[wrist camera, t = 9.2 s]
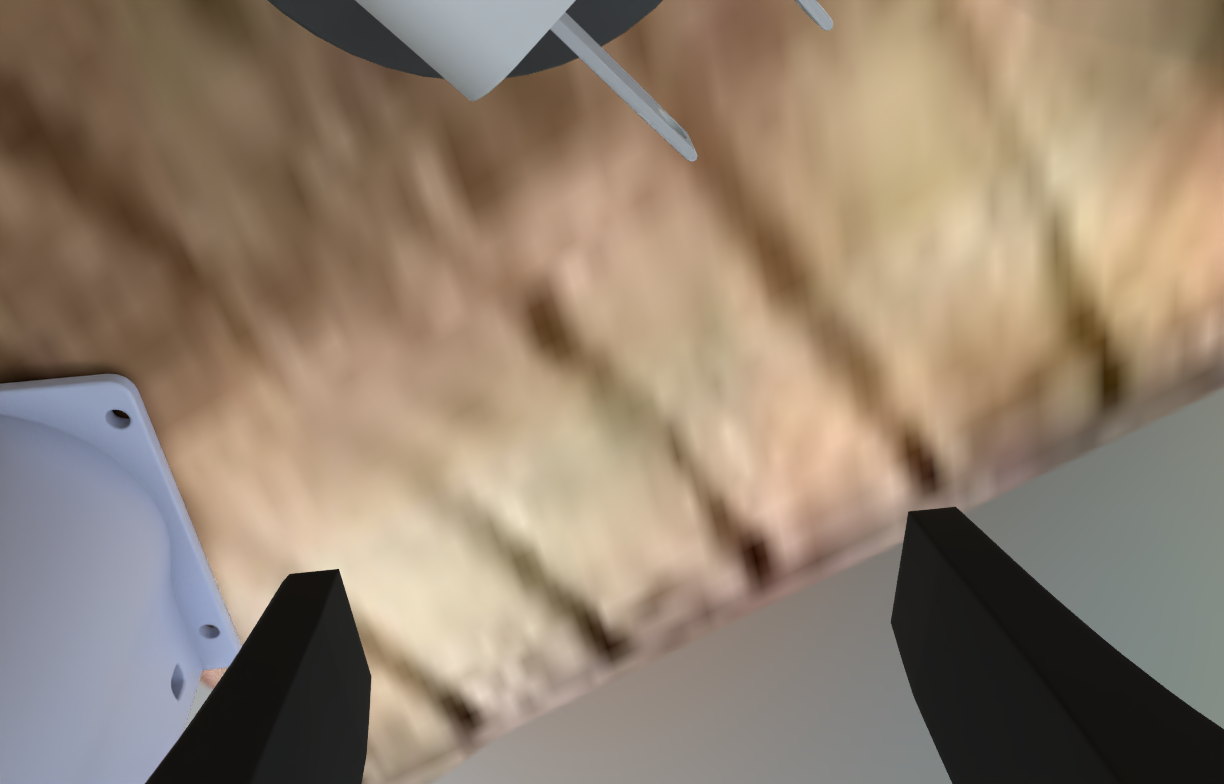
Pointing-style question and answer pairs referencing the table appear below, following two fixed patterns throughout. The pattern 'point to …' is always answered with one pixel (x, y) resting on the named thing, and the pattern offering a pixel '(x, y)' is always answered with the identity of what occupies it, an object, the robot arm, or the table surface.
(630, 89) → the usb wall charger
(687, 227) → the table surface
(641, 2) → the coffee cup
